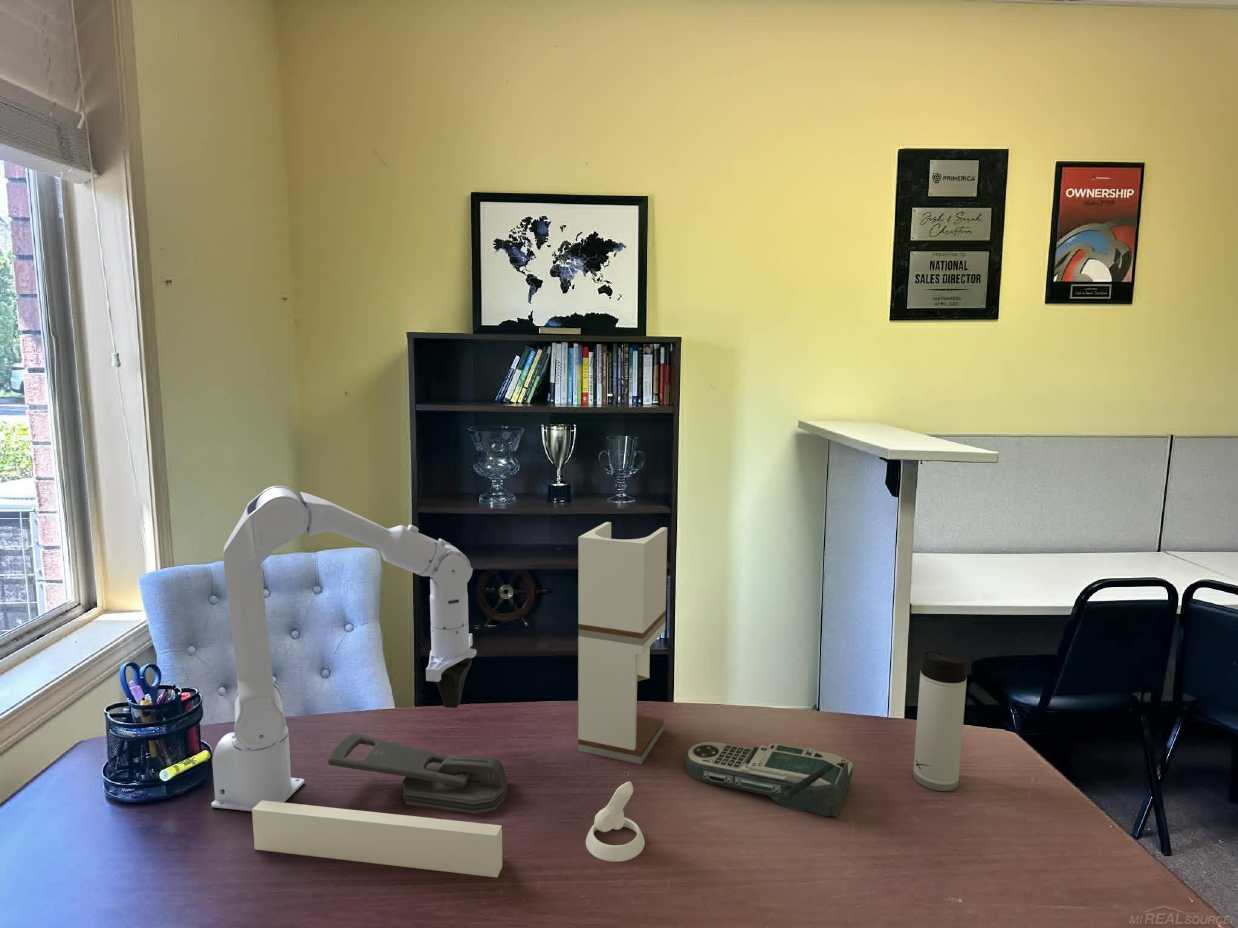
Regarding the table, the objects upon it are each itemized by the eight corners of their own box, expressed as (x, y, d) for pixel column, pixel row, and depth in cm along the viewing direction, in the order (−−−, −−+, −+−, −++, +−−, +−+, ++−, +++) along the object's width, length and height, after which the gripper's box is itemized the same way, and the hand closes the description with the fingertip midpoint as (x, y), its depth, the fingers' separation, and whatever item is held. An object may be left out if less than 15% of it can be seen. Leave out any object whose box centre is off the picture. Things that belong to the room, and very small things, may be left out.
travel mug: (912, 787, 111) (921, 658, 108) (913, 765, 117) (922, 642, 114) (959, 797, 109) (969, 665, 106) (957, 773, 115) (967, 648, 112)
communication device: (702, 747, 123) (703, 696, 122) (853, 785, 112) (855, 729, 111) (673, 784, 113) (673, 728, 111) (836, 829, 102) (839, 767, 101)
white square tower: (641, 763, 117) (644, 543, 112) (578, 750, 121) (578, 536, 116) (663, 730, 128) (667, 527, 123) (605, 719, 131) (606, 521, 126)
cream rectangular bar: (254, 849, 96) (252, 809, 95) (273, 829, 100) (271, 791, 99) (497, 877, 91) (496, 835, 91) (507, 855, 95) (506, 815, 95)
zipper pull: (350, 728, 114) (512, 738, 111) (351, 769, 115) (513, 780, 112) (320, 760, 105) (496, 771, 103) (323, 804, 106) (497, 816, 104)
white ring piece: (633, 852, 88) (595, 803, 91) (605, 888, 96) (570, 842, 99) (675, 813, 93) (637, 768, 96) (645, 850, 101) (611, 807, 104)
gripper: (457, 641, 109) (459, 729, 111) (489, 608, 124) (491, 687, 126) (411, 638, 111) (414, 726, 112) (448, 606, 125) (450, 684, 127)
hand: (451, 705), depth 119 cm, fingers closed
